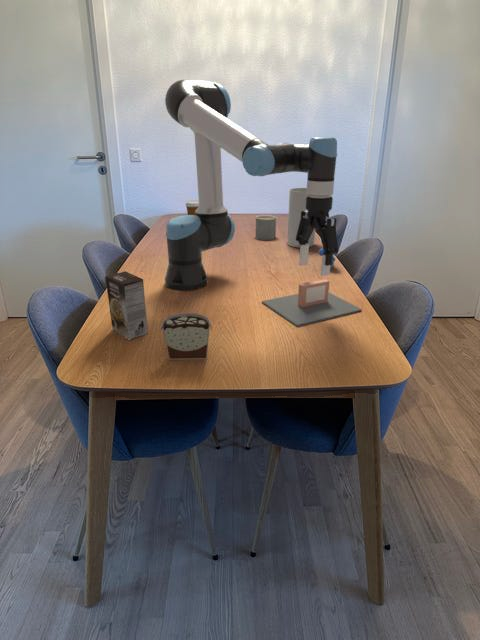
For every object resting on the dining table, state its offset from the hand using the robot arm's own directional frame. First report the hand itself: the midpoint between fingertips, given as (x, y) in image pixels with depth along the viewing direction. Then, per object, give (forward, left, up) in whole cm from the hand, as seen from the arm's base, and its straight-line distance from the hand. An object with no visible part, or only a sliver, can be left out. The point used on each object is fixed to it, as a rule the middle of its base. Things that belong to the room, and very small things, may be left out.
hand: (313, 269), depth 133 cm
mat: (-1, -1, -12) cm, 12 cm away
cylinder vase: (+39, +62, -12) cm, 74 cm away
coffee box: (-56, +8, -12) cm, 58 cm away
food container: (-46, -11, -12) cm, 49 cm away
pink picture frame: (0, 0, -11) cm, 11 cm away
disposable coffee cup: (+12, +127, -12) cm, 128 cm away
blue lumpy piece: (+29, +30, -12) cm, 43 cm away
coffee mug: (+32, +83, -12) cm, 90 cm away
